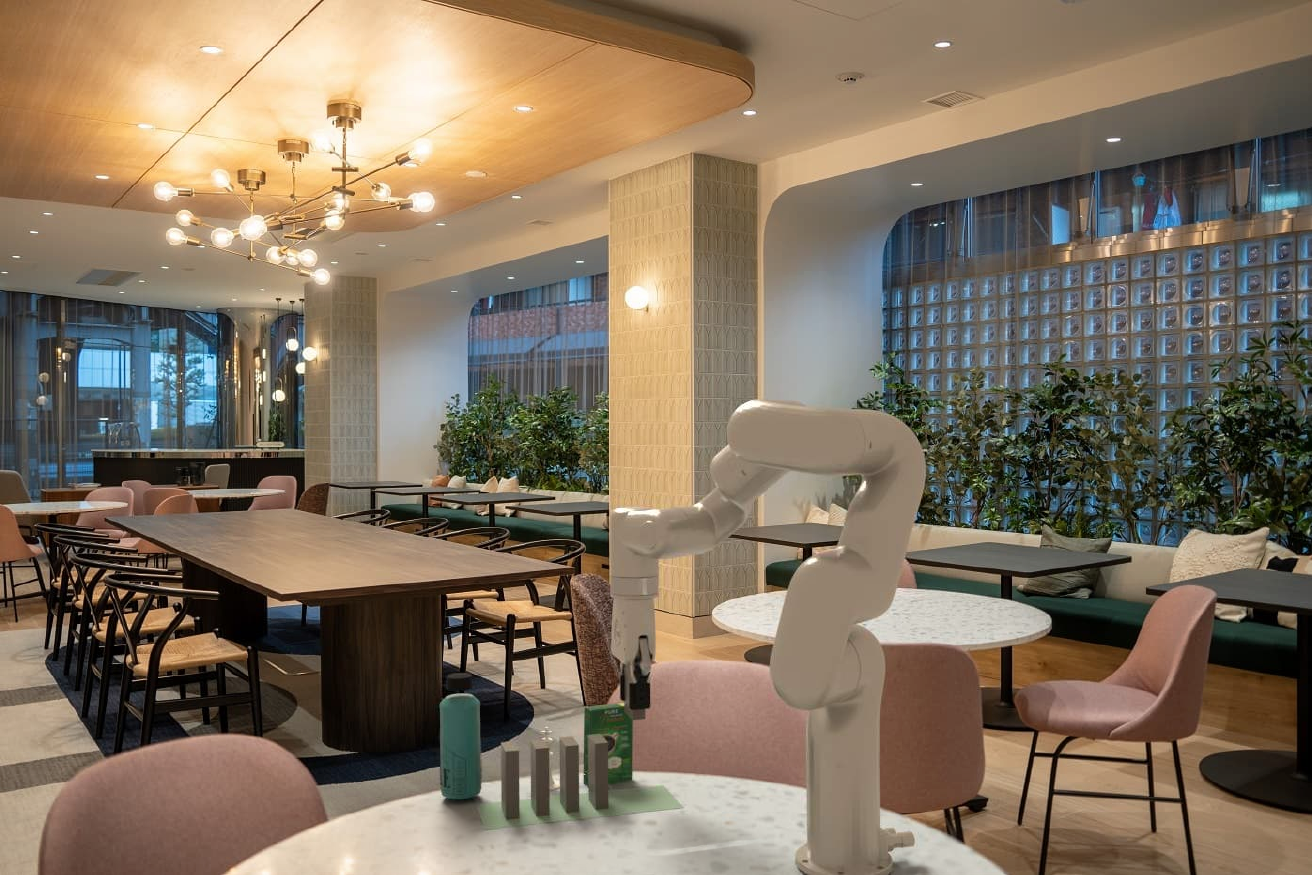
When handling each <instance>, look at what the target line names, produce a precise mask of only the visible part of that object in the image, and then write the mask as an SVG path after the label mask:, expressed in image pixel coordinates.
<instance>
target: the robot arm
mask: <svg viewBox="0 0 1312 875" xmlns="http://www.w3.org/2000/svg"><path fill="white" fill-rule="evenodd" d="M726 426H727V427H726V441H727V445H726V446H725V447H724V448H722V449H721V450H720V451H719V452H718V453H717V454H716V455H715V456H714V457H713V458H712V460H711V462H710V465H709V467H710V468H709V470H710V471H709V473H710V476H711V478H712V481H713V483H714V486H715V488H713V490H712V491H710V493H708V494H707V495H706V496H705V497H703V498H702V499H701V500H699V501H698V502H697V503H696V504H694V505H690V506H689V505H687V506H674V507H666V508H652V507H647V506H645V507H644V506H623V507H618V508H615V509H613V510H612V512H611V514H610V517H609V518H610V520H609V521H610V522H609V523H610V524H609V529H610V530H609V532H610V536H609V537H610V539H609V540H610V542H609V543H610V545H609V546H610V548H609V549H610V554H609V556H610V558H609V560H610V568H609V570H610V572H609V573H610V577H609V578H610V579H609V580H610V586H609V587H610V588H609V589H610V594H609V596H610V597H611V599H612V598H613V601H612V602H613V604H612V613H611V614H612V615H611V617H612V618H611V634H610V636H611V637H610V638H611V640H610V650H611V651H610V652H611V654H612V655H613V656H614V657H615V658H616V659H617V660H618V661H620V664H619V673H620V675H619V699H620V700H621V701H622V702H624V664H626V665H628V664H629V662H630V670H631V682H632V683H629V708H630V709H631V710H638V709H645V710H648V709H650V708H651V670H652V663H654V661H655V660H656V653H657V652H656V648H657V646H656V644H657V643H656V642H657V641H656V638H657V637H656V617H655V612H656V610H655V601H654V599H655V598H658V597H659V594H660V593H659V592H660V590H659V589H660V588H659V585H660V582H659V580H660V579H659V578H660V576H659V570H660V569H659V568H660V567H659V566H660V565H659V563H660V562H659V561H660V560H669V559H676V558H681V557H689V556H696V555H701V554H705V553H708V552H710V551H712V550H713V549H715V548H716V547H718V546H719V545H721V543H724V541H726V540H727V539H728V538H729V537H731V535H733V534H734V533H735V532H736V531H738V530H739V529H740V528H741V527H742V526H743V524H744V523H745V522H746V521H747V518H748V517H749V515H750V513H751V511H752V510H753V506H754V502H755V501H756V500H757V499H758V498H760V496H762V495H763V494H764V493H766V491H768V490H769V489H770V488H771V487H772V486H773V485H775V484H776V483H777V482H778V481H779V480H781V479H782V478H783V477H784V476H786V475H787V474H789V472H797V473H802V474H807V475H808V474H809V475H815V476H822V477H847V476H861V479H862V480H861V483H860V486H859V488H858V490H857V491H856V492H855V494H854V496H853V498H852V500H851V502H850V504H849V506H848V509H847V511H846V514H845V519H844V523H843V528H842V531H841V533H840V537H839V540H838V542H837V545H836V546H835V548H834V549H833V550H831V551H825V552H820V553H817V554H814V555H811V556H810V557H808V558H807V559H806V560H804V561H803V562H802V563H801V564H800V565H799V567H797V569H796V570H795V572H794V573H793V576H791V579H790V581H789V584H788V587H787V591H786V593H785V598H784V601H783V606H782V609H781V613H780V617H779V620H778V621H779V622H778V625H777V628H776V629H777V630H776V634H775V636H774V641H773V645H772V648H771V654H770V660H769V676H770V680H771V684H772V687H773V689H774V692H775V693H776V694H777V697H779V699H780V700H781V701H782V702H783V703H784V704H785V705H787V706H788V707H791V708H793V709H795V710H799V711H808V713H807V718H806V729H805V732H806V733H805V735H806V736H805V739H806V740H805V758H806V759H805V764H806V765H805V767H806V768H805V769H806V771H805V772H806V773H805V774H806V777H805V778H806V782H805V783H806V843H804V844H803V845H801V846H800V847H798V849H797V850H796V851H795V857H794V858H795V865H796V866H797V868H798V869H799V870H800V871H802V873H804V874H806V875H889V874H891V873H892V871H893V868H894V864H893V863H894V860H893V857H892V855H891V854H890V853H889V852H893V851H894V849H896V848H903V849H904V848H911V847H913V846H915V842H916V840H915V835H914V833H913V832H912V831H911V830H908V831H899V832H896V829H895V828H894V827H888V828H881V787H880V786H881V785H880V784H881V782H880V780H881V779H880V778H881V777H880V774H881V773H880V767H881V766H880V748H881V747H880V745H881V744H880V722H881V721H880V720H881V717H880V716H881V704H882V696H883V690H884V685H885V676H886V660H885V659H886V657H885V654H884V650H883V647H882V645H881V643H880V640H878V638H877V637H876V636H875V634H873V632H872V631H870V630H869V629H868V628H867V627H864V626H863V625H860V623H865V622H868V621H871V620H873V619H877V618H879V617H881V616H883V615H884V614H885V613H886V612H887V611H889V609H890V608H891V607H892V604H893V602H894V599H895V597H896V592H897V589H898V584H899V581H900V577H901V574H902V569H903V566H904V562H905V558H906V554H907V552H908V549H909V548H908V546H909V544H910V538H911V534H912V531H913V528H914V523H915V520H916V517H917V513H918V510H919V507H920V504H921V500H922V498H923V493H924V489H925V485H926V478H927V476H926V475H927V464H926V458H925V454H924V453H925V452H924V450H923V447H922V445H921V442H920V441H919V439H918V438H917V436H916V434H915V433H914V432H913V430H912V429H911V428H910V427H909V426H908V425H907V424H905V423H904V422H903V421H902V420H901V419H899V418H898V417H896V416H894V415H892V414H889V413H887V412H883V411H881V410H874V409H863V408H857V409H856V408H853V409H849V408H829V407H818V406H808V405H805V404H803V403H801V402H799V401H798V402H797V401H795V400H794V401H793V400H787V399H768V398H767V399H766V398H760V399H759V398H757V399H752V400H749V401H747V402H745V403H743V404H741V405H740V406H738V408H737V409H736V410H734V412H733V413H732V414H731V416H730V418H729V420H728V423H727V425H726ZM636 658H640V661H641V662H634V659H636ZM638 666H640V668H638V669H637V671H636V667H638Z"/></svg>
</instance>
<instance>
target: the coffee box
mask: <svg viewBox="0 0 1312 875" xmlns="http://www.w3.org/2000/svg"><path fill="white" fill-rule="evenodd" d="M583 709H584V711H583V712H584V714H583V716H584V717H583V719H584V720H583V721H584V724H583V774H585V775H583V785H585V786H586V787H588V735H593V734H601V735H602V736H603V737H604V738H605V740H606V741H607V742H608V786H609V785H614V784H620V783H624V782H625V783H626V782H631V781H633V775H634V774H633V773H634V772H633V757H634V756H633V750H634V748H633V745H634V744H633V743H634V742H633V741H634V740H633V738H634V720H632V719H631V718H630V717H629V716H628V715H627V714H626V713H625V712H624V701H622V702H616V703H609V704H600V705H591V706H589V705H588V706H584V708H583Z"/></svg>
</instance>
